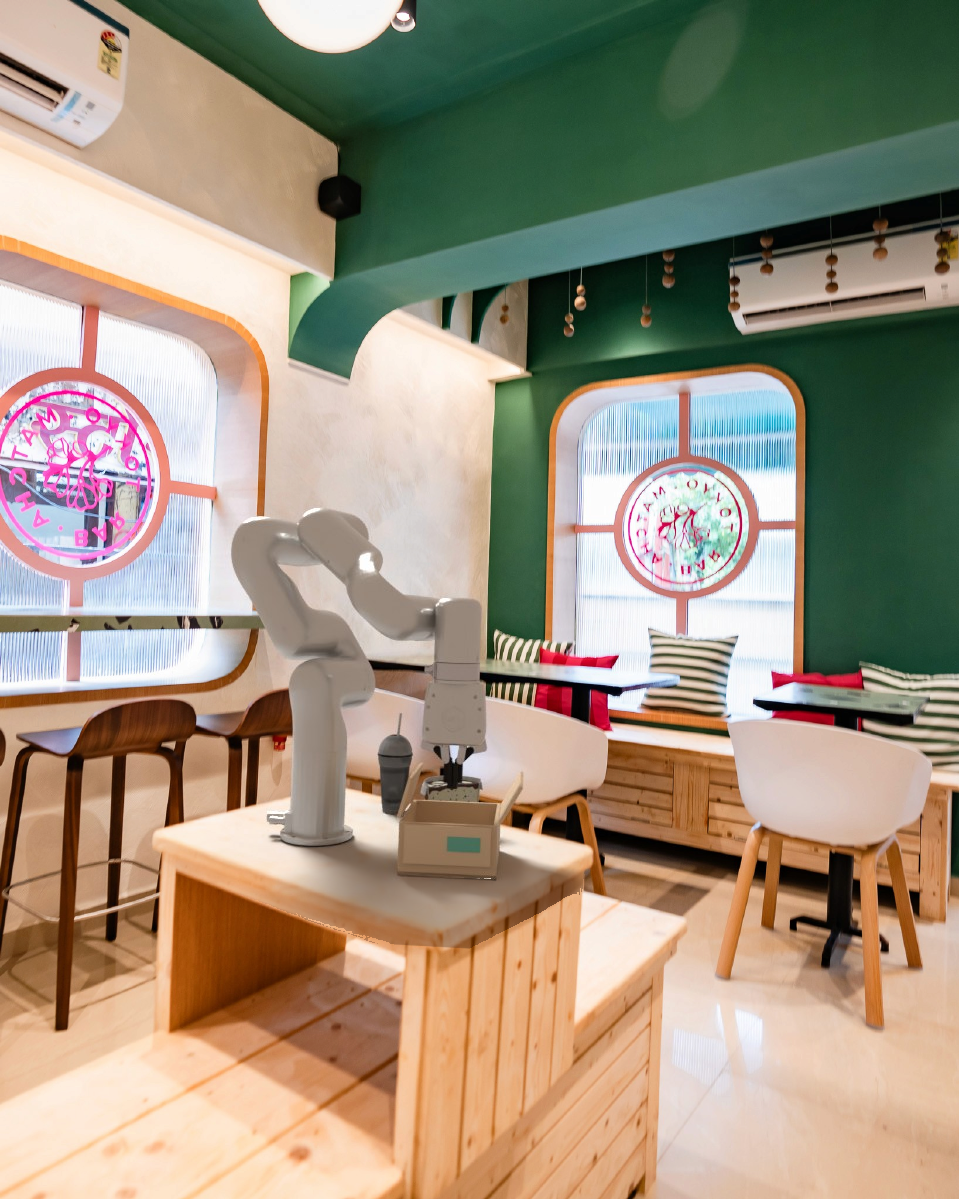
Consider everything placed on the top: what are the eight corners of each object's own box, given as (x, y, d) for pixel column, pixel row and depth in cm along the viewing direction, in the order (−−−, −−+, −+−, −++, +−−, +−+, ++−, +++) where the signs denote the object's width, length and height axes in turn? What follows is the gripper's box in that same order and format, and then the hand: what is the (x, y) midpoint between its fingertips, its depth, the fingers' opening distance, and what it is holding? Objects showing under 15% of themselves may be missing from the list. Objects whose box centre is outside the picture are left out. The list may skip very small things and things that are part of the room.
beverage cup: (393, 805, 168) (396, 710, 169) (418, 811, 163) (421, 713, 164) (367, 811, 162) (371, 712, 163) (393, 817, 158) (396, 715, 158)
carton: (396, 876, 121) (398, 823, 121) (412, 845, 138) (414, 798, 138) (495, 881, 120) (497, 827, 120) (499, 849, 137) (501, 802, 137)
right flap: (520, 786, 122) (523, 788, 122) (520, 770, 136) (523, 772, 136) (498, 822, 122) (501, 824, 122) (501, 803, 136) (503, 804, 136)
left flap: (399, 818, 123) (396, 817, 123) (412, 799, 136) (409, 798, 136) (411, 778, 123) (408, 777, 123) (423, 763, 137) (420, 762, 137)
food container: (463, 825, 153) (465, 772, 153) (481, 832, 148) (483, 778, 148) (406, 833, 146) (408, 778, 147) (423, 841, 141) (425, 784, 141)
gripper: (407, 673, 127) (403, 790, 126) (501, 677, 126) (498, 794, 125) (414, 670, 134) (410, 780, 134) (503, 674, 133) (499, 784, 133)
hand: (452, 787), depth 129 cm, fingers closed
